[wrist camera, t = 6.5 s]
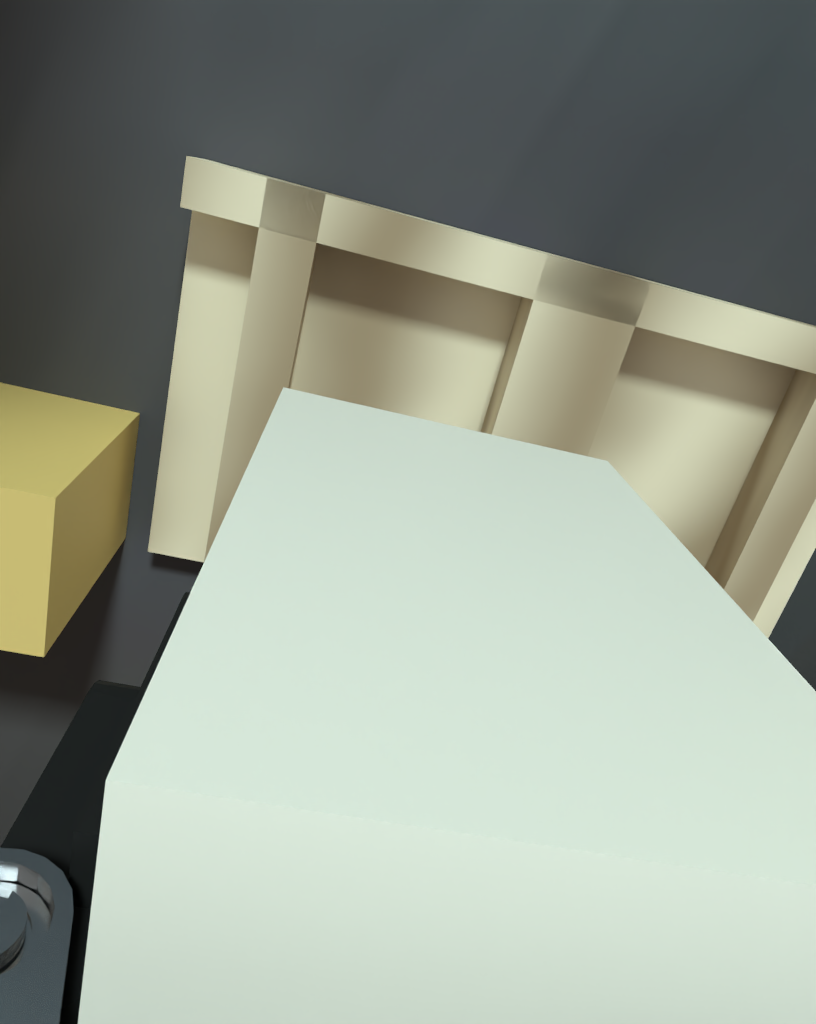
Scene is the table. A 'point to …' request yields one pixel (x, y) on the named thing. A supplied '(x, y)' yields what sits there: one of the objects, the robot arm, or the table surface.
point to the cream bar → (455, 757)
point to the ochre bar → (57, 508)
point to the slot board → (486, 368)
